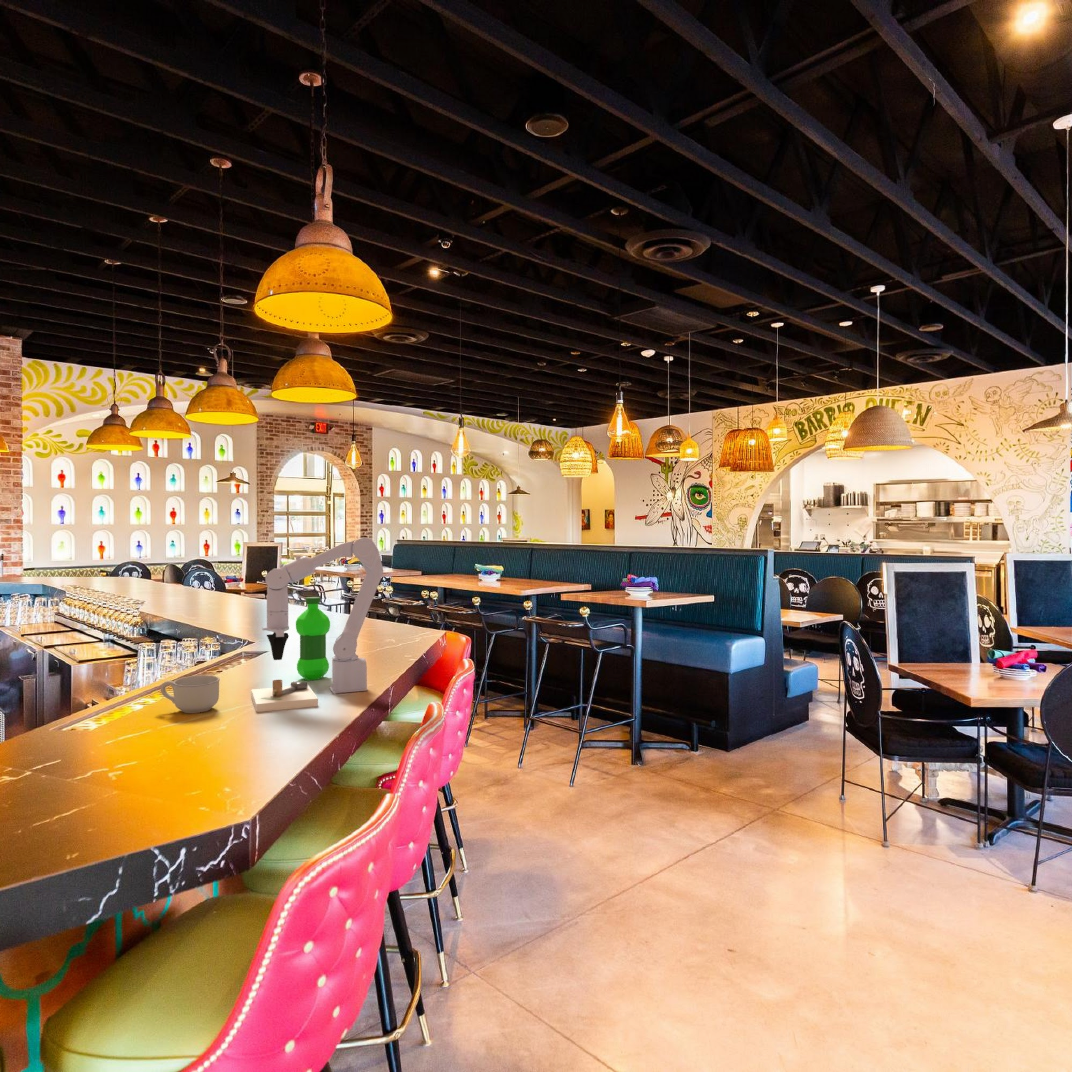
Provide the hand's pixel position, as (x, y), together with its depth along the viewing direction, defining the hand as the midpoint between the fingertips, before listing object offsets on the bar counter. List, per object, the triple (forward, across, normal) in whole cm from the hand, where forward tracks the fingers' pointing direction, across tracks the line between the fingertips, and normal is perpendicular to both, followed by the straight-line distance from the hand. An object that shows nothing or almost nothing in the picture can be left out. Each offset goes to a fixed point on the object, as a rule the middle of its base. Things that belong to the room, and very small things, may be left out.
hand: (277, 659), depth 205 cm
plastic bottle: (+10, -18, +12) cm, 24 cm away
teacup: (+10, +12, -22) cm, 27 cm away
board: (+9, +12, 0) cm, 15 cm away
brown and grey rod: (+7, +11, +2) cm, 13 cm away
